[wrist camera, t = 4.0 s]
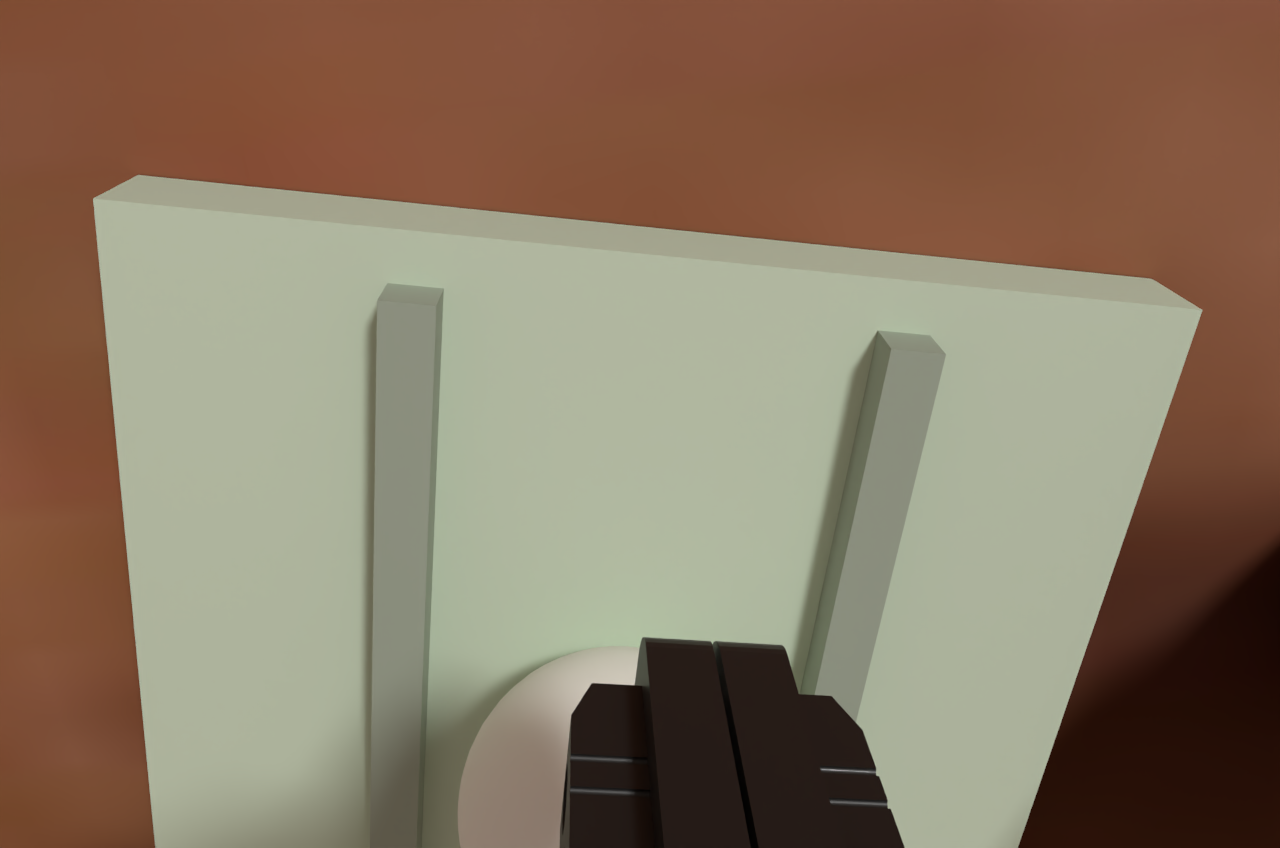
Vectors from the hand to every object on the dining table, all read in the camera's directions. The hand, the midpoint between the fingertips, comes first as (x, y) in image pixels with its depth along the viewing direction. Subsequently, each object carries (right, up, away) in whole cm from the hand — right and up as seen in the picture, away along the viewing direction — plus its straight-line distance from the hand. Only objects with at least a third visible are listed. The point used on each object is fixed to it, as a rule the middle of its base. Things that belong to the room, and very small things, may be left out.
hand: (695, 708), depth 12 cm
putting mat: (-2, -8, +16) cm, 18 cm away
